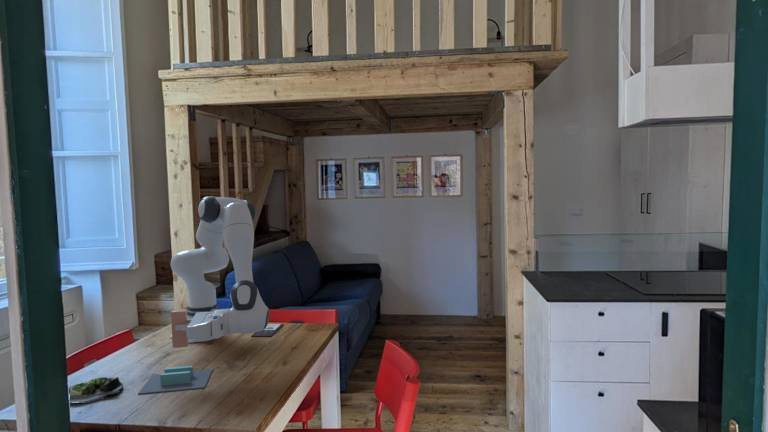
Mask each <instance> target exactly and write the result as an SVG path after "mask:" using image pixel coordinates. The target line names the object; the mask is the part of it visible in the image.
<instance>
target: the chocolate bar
mask: <svg viewBox="0 0 768 432" xmlns="http://www.w3.org/2000/svg"><path fill="white" fill-rule="evenodd" d="M283 325H285V324H283V323H270V324H269V323H268V325H267V327H266V328H265V329H264V330H262V331H259V332H254V333H253V334H251V335H250V337H251V338H272V337H273V336H274V335H275V334H277V332H278V331H279V330H280V329H281V328H282V327H284V326H283Z"/></svg>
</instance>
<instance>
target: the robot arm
mask: <svg viewBox="0 0 768 432" xmlns="http://www.w3.org/2000/svg"><path fill="white" fill-rule="evenodd" d="M197 210H198V217H199V219H200V222H199V225H198V228H197V230H196V233H195V238H196V241H197V242H198V244H199V245H200V246H201V247H200V248H193V249H186V250H183V251H180V252H176V253H174V254H173V256H172V257H171V258H170V259H171V260H170V268H171V270H172V272H173V274H174V275H175V276H178V277H179V278H180V279H181V280H182V281H183V282H184V284H185V285H186V286H185V287H186V289H187V295H188V303H189V304H188V305H189V306H185V308H184V310H187V324H177V325H176V326H175V330H176V331H178V330H182V331H186V333H187V338H188V344H193V343H200V342H208V341H212V340H217V339H220V338H221V337H223V336H230V335H234V334H242V335H243V334H246V335H247V334H252V333H253V334H254V333H255V332H259V331H262V330H264V329H265V328H266V327H267V325H268V324H269V320H270V309H269V307H268V306H267V305H266V304H265V302H264V301H263V298H262V297H261V295H260V292H259V289H258V287H257V285H256V284H255V282H254V275H253V268H252V267H253V253H254V243H255V230H254V221H255V219H256V214H257V213H256V211H257V210H256V206H255V205H254V203H253V202H251V201H249V200H246V199H239V198H234V197H225V196H214V195H210V196H204V197H203V198H201V200H200V201H199V205H198V209H197ZM223 242H224V243H225V248H226V249H225V248H224V247H223ZM229 261H231V262H232V265H233V266H232V267H233V270H234V277H235V283H234V284H233V286H232V287H231V290H230V294H229V296H230V302H231V304H232V307H231V308H220V309H218V308H219V307H218V303H217V294H216V293H217V292H216V286H215V285H214V284H213V283H212V282H210V281H207V280H206V278H205V274H207V273H214V272H217V271H221V270H223V269H225V268H226V267H228V264H229ZM169 336H170V337H169V338H170V339H172V334H170V335H169Z"/></svg>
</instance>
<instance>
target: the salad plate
mask: <svg viewBox="0 0 768 432" xmlns="http://www.w3.org/2000/svg"><path fill="white" fill-rule="evenodd" d="M68 387H69V394H70V404H69V405H72V404H71V403H72V402H79V403H82V402H88V403H90V402H89V401H92V402H95V401H94V400H96V401H99V400H98V399H100V400H102V398H104V399H106V397H107V398H110V396H111V397H113V396H115V394H116V395H117V394H119V393H121V392H122V391H123V388H124V384H123V383H122V382H121V381H120V379H119V376H117V377H114V376H108V377H106V376H105V377H104V376H103V377H97V378H96V377H95V378H94V379H93V378H92V379H89V381H85V382H81V383H77V384H73V385H70V386H68Z"/></svg>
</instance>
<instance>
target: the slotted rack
mask: <svg viewBox="0 0 768 432" xmlns="http://www.w3.org/2000/svg"><path fill="white" fill-rule="evenodd" d="M163 371H164V372H163V373H160V374H161V375H160V381H161V386H163V385H173V384H184V383H190V382H191V377H193V376H194V371H195V370H194V365H185V366H174V367H165V368H164V369H163Z"/></svg>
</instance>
